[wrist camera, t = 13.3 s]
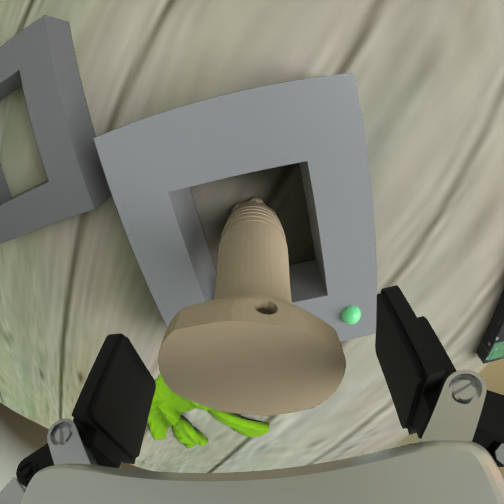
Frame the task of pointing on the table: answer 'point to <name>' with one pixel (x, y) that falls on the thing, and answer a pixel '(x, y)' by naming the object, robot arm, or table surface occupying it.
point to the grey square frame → (51, 130)
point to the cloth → (169, 414)
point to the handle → (251, 330)
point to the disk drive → (493, 337)
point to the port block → (246, 161)
